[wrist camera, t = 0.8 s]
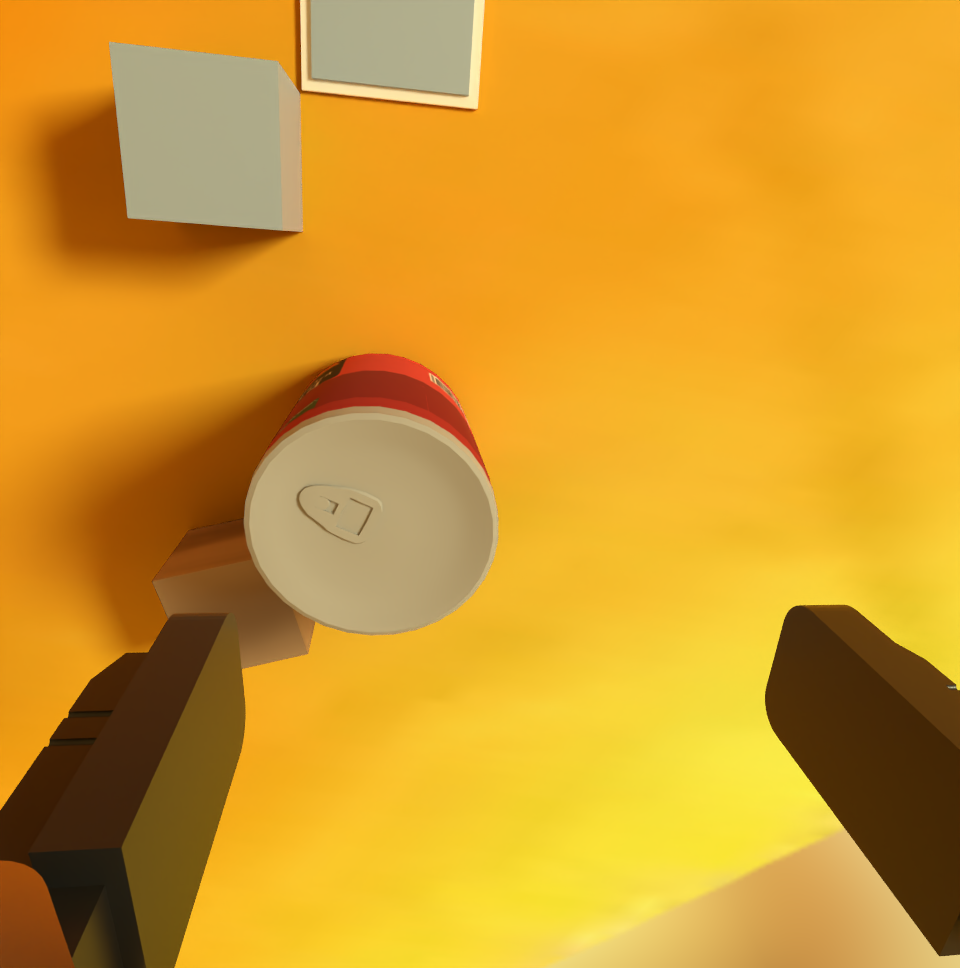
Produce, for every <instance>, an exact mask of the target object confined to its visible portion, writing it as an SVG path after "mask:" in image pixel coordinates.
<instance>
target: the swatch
mask: <svg viewBox="0 0 960 968" xmlns="http://www.w3.org/2000/svg"><path fill="white" fill-rule="evenodd" d="M484 3H485V0H300V16H301V72H302V91H310V92H319V93H328V94H337V95H346V96H355V97H365V98H374V99H383V100H392V101H401V102H410V103H419V104H428V105H438V106H447V107H456V108H465V109H474V110H477V109H478V95H479V79H480V64H481V49H482V33H483V18H484Z"/></svg>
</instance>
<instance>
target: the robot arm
mask: <svg viewBox="0 0 960 968" xmlns="http://www.w3.org/2000/svg"><path fill="white" fill-rule="evenodd" d="M765 705H766V711H767V716H768V719H769V722H770V725H771V727H772V729H773V731H774V732H775V734H776V735H777V737H778V738H779V740H780V741H781V742H782V744H783V745H784V746H785V748H786V749H787V750H788V752H789V753H790V754H791V756H792V757H793V759H794V760H795V761H796V763H797V764H798V765H799V767H800V768H801V769H802V771H803V772H804V773H805V775H806V776H807V778H808V779H809V780H810V782H811V783H812V784H813V786H814V787H815V788H816V790H817V791H818V792H819V794H820V795H821V797H822V798H823V799H824V801H825V802H826V803H827V805H828V806H829V807H830V809H831V810H832V811H833V813H834V814H835V815H836V817H837V818H838V820H839V821H840V822H841V824H842V825H843V826H844V828H845V829H846V830H847V832H848V833H849V834H850V836H851V837H852V838H853V840H854V841H855V843H856V844H857V845H858V847H859V848H860V849H861V851H862V852H863V853H864V855H865V856H866V858H867V859H868V860H869V862H870V863H871V864H872V866H873V867H874V868H875V870H876V871H877V872H878V874H879V875H880V876H881V878H882V879H883V881H884V882H885V883H886V885H887V886H888V887H889V889H890V890H891V891H892V893H893V894H894V896H895V897H896V898H897V900H898V901H899V902H900V903H901V905H902V906H903V908H904V909H905V910H906V912H907V913H908V914H909V916H910V917H911V919H912V920H913V921H914V923H915V924H916V925H917V927H918V928H919V929H920V931H921V932H922V933H923V935H924V936H925V937H926V939H927V940H928V941H929V943H930V944H931V946H932V947H933V948H934V950H935V951H936V952H937V954H938V955H939V956H949V955H960V690H957V688H956V684H955V683H953V682H952V681H951V680H950V679H948V678H947V677H946V676H945V675H944V674H942V673H941V672H940V671H939V670H938V669H936V668H935V667H934V666H933V665H932V664H930V663H929V662H928V661H927V660H925V659H924V658H922V657H920V656H918V655H916V654H915V653H913V652H911V651H909V650H907V649H905V648H904V647H902V646H900V645H898V644H896V643H895V642H894V641H892V640H891V639H890V638H889V637H888V636H886V635H885V634H884V633H883V632H882V631H880V630H879V629H878V628H877V627H876V626H875V625H873V624H872V623H871V622H870V621H869V620H867V619H866V618H865V617H864V616H863V615H861V614H860V613H859V612H858V611H857V610H855V609H854V608H852V607H850V606H848V605H801V606H795V607H793V608H791V609H790V610H789V612H788V613H787V615H786V617H785V619H784V623H783V626H782V630H781V634H780V638H779V642H778V645H777V649H776V653H775V657H774V660H773V664H772V668H771V672H770V676H769V679H768V683H767V687H766V692H765ZM244 730H245V698H244V687H243V677H242V667H241V657H240V647H239V636H238V627H237V622H236V618H235V616H234V614H233V613H176V614H172V615H171V616H170V617H169V619H168V620H167V622H166V624H165V625H164V627H163V629H162V630H161V632H160V634H159V635H158V637H157V639H156V640H155V642H154V644H153V645H152V647H151V649H150V650H149V652H148V653H126V654H124V655H123V656H122V657H120V658H119V659H118V660H116V661H115V662H114V663H112V664H111V665H110V666H108V667H107V668H106V669H104V670H103V671H102V672H100V673H99V674H98V675H96V676H95V677H94V678H92V679H91V680H90V682H89V683H88V684H87V686H86V687H85V689H84V690H83V692H82V693H81V695H80V696H79V697H78V699H77V700H76V702H75V703H74V705H73V706H72V708H71V709H70V711H69V716H68V718H64V719H63V721H62V722H61V724H60V725H59V726H58V728H57V729H56V731H55V732H54V734H53V735H52V737H51V738H50V743H49V746H48V747H44V748H43V750H42V751H41V753H40V754H39V755H38V757H37V758H36V760H35V761H34V763H33V764H32V766H31V767H30V768H29V770H28V771H27V773H26V774H25V776H24V777H23V779H22V780H21V781H20V783H19V784H18V786H17V787H16V789H15V790H14V792H13V793H12V795H11V796H10V797H9V799H8V800H7V802H6V803H5V805H4V806H3V808H2V809H1V810H0V968H174V967H175V964H176V960H177V957H178V954H179V951H180V948H181V944H182V941H183V938H184V935H185V931H186V928H187V925H188V922H189V918H190V915H191V912H192V909H193V905H194V902H195V899H196V896H197V892H198V889H199V886H200V883H201V879H202V876H203V873H204V870H205V867H206V863H207V860H208V857H209V854H210V850H211V847H212V844H213V841H214V837H215V834H216V831H217V828H218V824H219V821H220V818H221V815H222V811H223V808H224V805H225V802H226V798H227V795H228V792H229V789H230V786H231V782H232V779H233V776H234V773H235V769H236V766H237V763H238V760H239V756H240V753H241V749H242V744H243V738H244Z"/></svg>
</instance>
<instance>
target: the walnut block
mask: <svg viewBox="0 0 960 968" xmlns="http://www.w3.org/2000/svg"><path fill="white" fill-rule="evenodd" d="M152 583H153V585H154V587H155V590H156V592H157V594H158V596H159V599H160V601H161V603H162V606H163V608H164V610H165V613H166V615H167V617H168V619H169V617H170V616H171V615H172V614H176V613H233V614H234V616H235V618H236V622H237V627H238V636H239V647H240V657H241V667H242V669H243V668H248V667H252V666H257V665H261V664H265V663H270V662H274V661H279V660H283V659H288V658H292V657H296V656H301V655H305V654H308V652H309V647H310V643H311V638H312V634H313V629H314V625H315V621H313V620H311V619H309V618H307V617H305V616H303V615H302V614H300V613H299V612H297V611H296V610H294V609H293V608H292V607H290V606H289V605H287V604H286V603H285V602H283V601H282V599H281V598H280V597H279V596H278V595H277V594H276V593H275V592H274V591H273V590H272V589H271V588H270V587H269V586H268V585H267V583H266V582H265V580H264V579H263V577H262V576H261V574H260V573H259V571H258V570H257V568H256V567H255V564H254V562H253V559H252V557H251V554H250V552H249V549H248V546H247V542H246V535H245V529H244V518H243V519H239V520H234V521H230V522H225V523H220V524H216V525H211V526H206V527H202V528H197V529H193V530H189V531H188V532H187V533H186V535H185V536H184V538H183V539H182V540H181V542H180V543H179V545H178V546H177V547H176V549H175V550H174V551H173V553H172V554H171V556H170V557H169V558H168V560H167V561H166V563H165V564H164V565H163V567H162V568H161V569H160V571H159V572H158V574H157V575H156V576H155V578H154V579H153V580H152Z"/></svg>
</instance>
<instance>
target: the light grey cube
mask: <svg viewBox="0 0 960 968" xmlns="http://www.w3.org/2000/svg"><path fill="white" fill-rule="evenodd" d="M109 47H110V56H111V66H112V75H113V85H114V94H115V103H116V113H117V122H118V131H119V141H120V150H121V160H122V169H123V178H124V188H125V197H126V207H127V216H128V218H133V219H145V220H158V221H170V222H182V223H195V224H207V225H220V226H232V227H244V228H257V229H269V230H282V231H297V232H303V219H302V166H301V113H300V93H299V91H298V90H297V88H296V87H295V86H294V84H293V83H292V81H291V80H290V78H289V77H288V75H287V74H286V72H285V71H284V70H283V68H282V67H281V65H280V64H279V62H278V61H271V60H262V59H254V58H245V57H236V56H228V55H219V54H210V53H201V52H193V51H184V50H175V49H167V48H158V47H149V46H141V45H132V44H123V43H114V42H109Z"/></svg>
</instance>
